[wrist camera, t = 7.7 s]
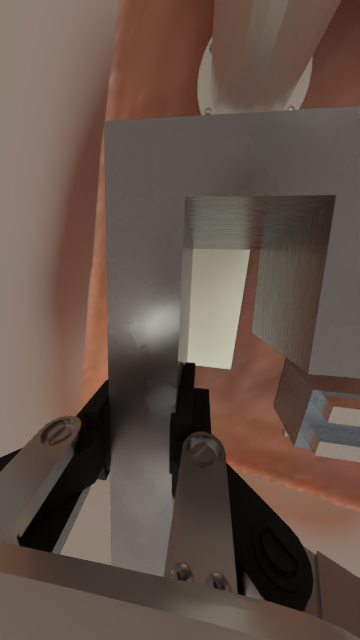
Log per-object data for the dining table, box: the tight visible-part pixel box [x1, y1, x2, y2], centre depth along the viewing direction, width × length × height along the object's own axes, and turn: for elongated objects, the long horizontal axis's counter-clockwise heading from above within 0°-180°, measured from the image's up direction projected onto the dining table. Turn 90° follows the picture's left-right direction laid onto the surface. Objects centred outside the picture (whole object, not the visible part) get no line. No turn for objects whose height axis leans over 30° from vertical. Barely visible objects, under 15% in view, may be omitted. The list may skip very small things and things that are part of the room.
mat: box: [187, 249, 250, 369], centre depth 30 cm, size 24×14×1 cm, turn 177°
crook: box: [104, 106, 360, 577], centre depth 9 cm, size 20×9×6 cm, turn 178°
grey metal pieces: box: [274, 359, 360, 462], centre depth 24 cm, size 32×12×10 cm, turn 177°
